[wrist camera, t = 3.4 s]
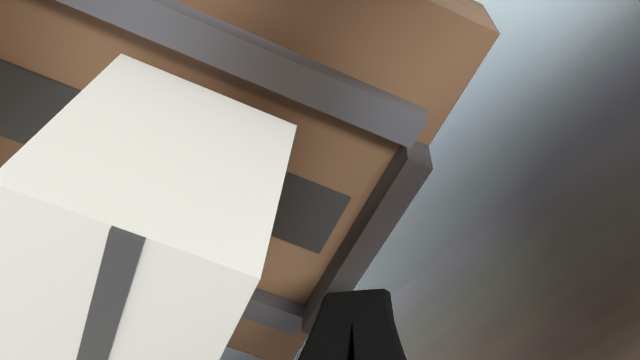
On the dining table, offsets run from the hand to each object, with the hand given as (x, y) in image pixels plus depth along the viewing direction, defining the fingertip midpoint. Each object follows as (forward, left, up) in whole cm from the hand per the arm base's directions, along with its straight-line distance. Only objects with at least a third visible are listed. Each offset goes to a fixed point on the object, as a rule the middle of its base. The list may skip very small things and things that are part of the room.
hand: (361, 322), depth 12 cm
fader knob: (+5, 0, -3) cm, 5 cm away
